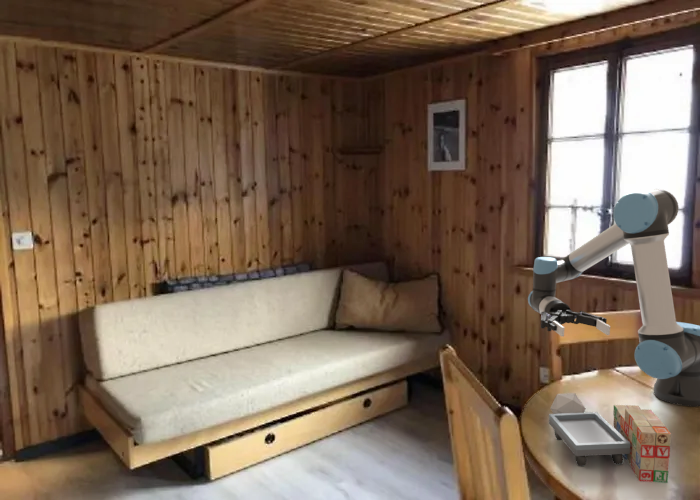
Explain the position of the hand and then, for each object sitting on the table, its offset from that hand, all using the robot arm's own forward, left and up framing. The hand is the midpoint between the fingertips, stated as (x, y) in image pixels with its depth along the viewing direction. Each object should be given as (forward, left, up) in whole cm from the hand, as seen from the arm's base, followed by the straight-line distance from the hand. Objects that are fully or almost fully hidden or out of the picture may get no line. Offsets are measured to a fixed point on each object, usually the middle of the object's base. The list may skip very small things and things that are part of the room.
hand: (585, 331), depth 160 cm
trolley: (+9, +23, -24) cm, 35 cm away
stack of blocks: (-1, +28, -25) cm, 37 cm away
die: (+7, +7, -24) cm, 26 cm away
